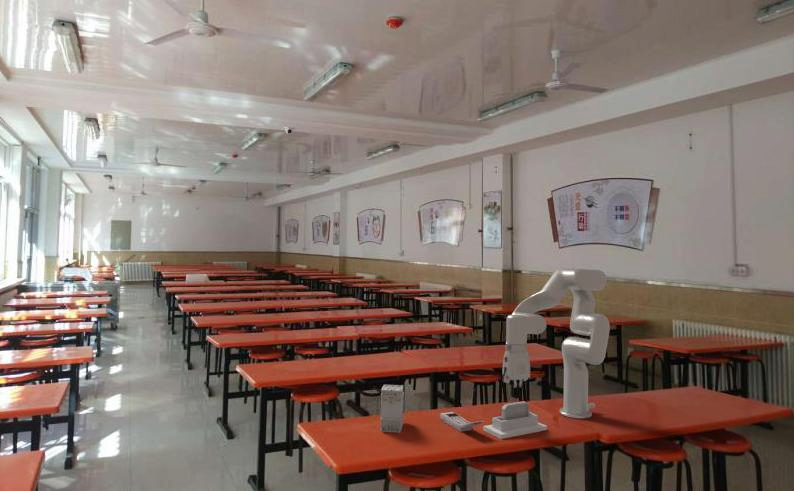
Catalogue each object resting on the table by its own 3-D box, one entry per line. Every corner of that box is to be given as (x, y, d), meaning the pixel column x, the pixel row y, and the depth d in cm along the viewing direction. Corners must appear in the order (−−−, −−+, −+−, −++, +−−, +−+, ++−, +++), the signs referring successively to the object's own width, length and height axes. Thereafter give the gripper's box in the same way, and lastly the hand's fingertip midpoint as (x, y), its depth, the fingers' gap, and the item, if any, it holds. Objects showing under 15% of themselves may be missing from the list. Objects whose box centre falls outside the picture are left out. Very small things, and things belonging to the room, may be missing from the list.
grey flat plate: (501, 425, 186) (501, 404, 186) (526, 421, 192) (526, 400, 192) (504, 427, 185) (504, 405, 185) (529, 422, 190) (529, 401, 190)
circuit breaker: (404, 419, 197) (404, 381, 198) (400, 432, 183) (401, 391, 184) (385, 418, 198) (385, 380, 198) (380, 431, 184) (381, 390, 184)
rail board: (528, 421, 198) (528, 409, 198) (546, 429, 189) (546, 416, 189) (483, 430, 187) (483, 416, 187) (500, 439, 178) (501, 424, 179)
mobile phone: (471, 423, 178) (436, 403, 201) (470, 439, 178) (436, 418, 201) (485, 421, 181) (449, 401, 203) (485, 437, 180) (449, 416, 203)
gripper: (507, 351, 182) (506, 402, 181) (538, 348, 189) (537, 397, 188) (494, 347, 188) (493, 397, 188) (524, 345, 196) (523, 392, 195)
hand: (515, 397), depth 188 cm, fingers closed
